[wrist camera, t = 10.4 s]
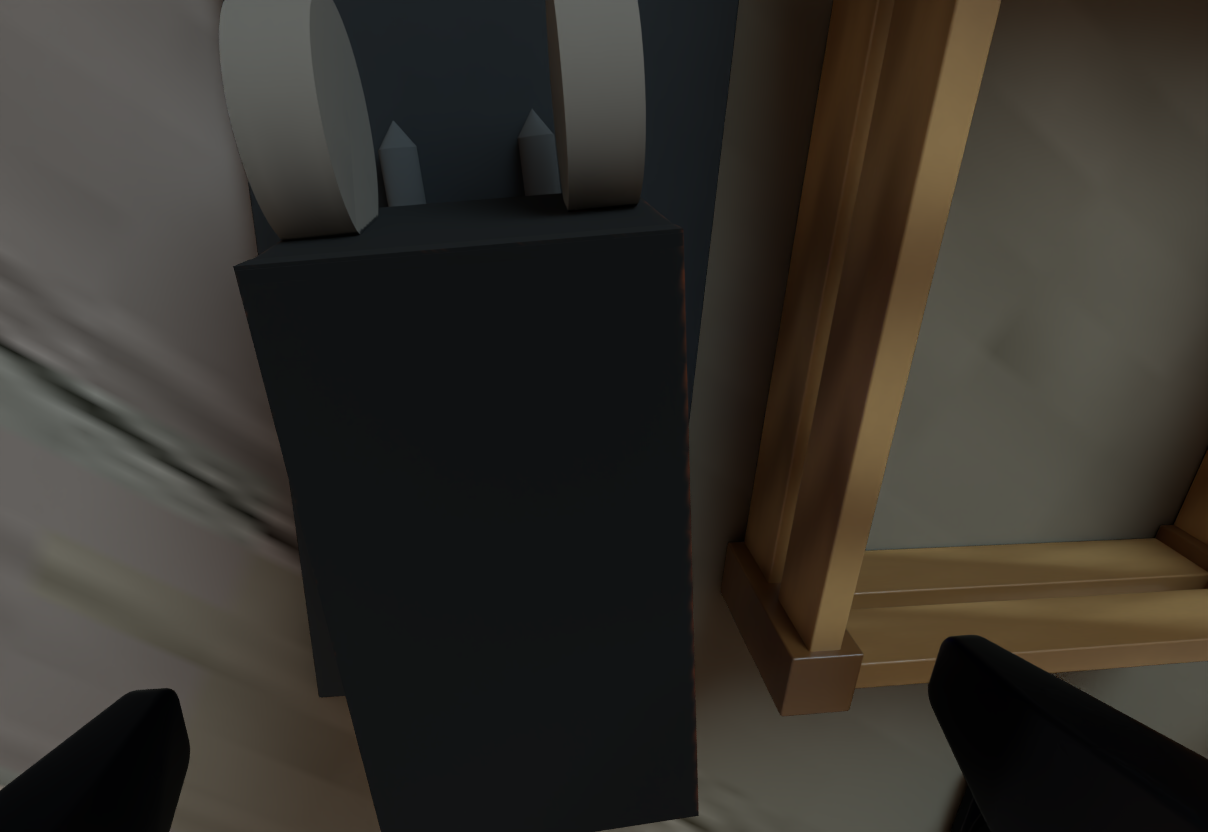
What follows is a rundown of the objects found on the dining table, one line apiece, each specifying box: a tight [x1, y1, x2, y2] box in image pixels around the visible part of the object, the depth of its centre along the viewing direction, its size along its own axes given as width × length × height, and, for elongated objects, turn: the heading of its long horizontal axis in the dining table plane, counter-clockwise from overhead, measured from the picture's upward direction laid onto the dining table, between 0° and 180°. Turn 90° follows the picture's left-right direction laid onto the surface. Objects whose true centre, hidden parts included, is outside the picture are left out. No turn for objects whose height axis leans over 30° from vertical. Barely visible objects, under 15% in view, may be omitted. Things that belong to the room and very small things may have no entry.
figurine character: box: [219, 0, 698, 832], centre depth 14 cm, size 7×8×15 cm
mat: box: [223, 0, 739, 697], centre depth 17 cm, size 20×10×1 cm, turn 176°
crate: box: [720, 0, 1208, 716], centre depth 16 cm, size 21×17×5 cm
